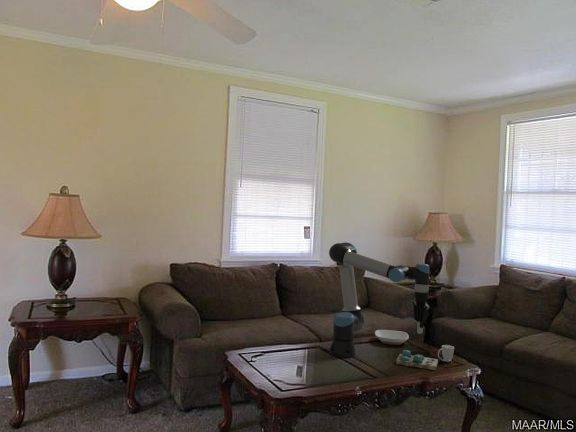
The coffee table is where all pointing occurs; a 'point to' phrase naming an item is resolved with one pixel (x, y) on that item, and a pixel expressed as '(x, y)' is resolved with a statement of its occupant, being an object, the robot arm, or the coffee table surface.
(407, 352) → the button
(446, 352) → the cup
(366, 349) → the coffee table surface
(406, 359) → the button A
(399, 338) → the bowl
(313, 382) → the coffee table surface
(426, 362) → the board
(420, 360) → the button
